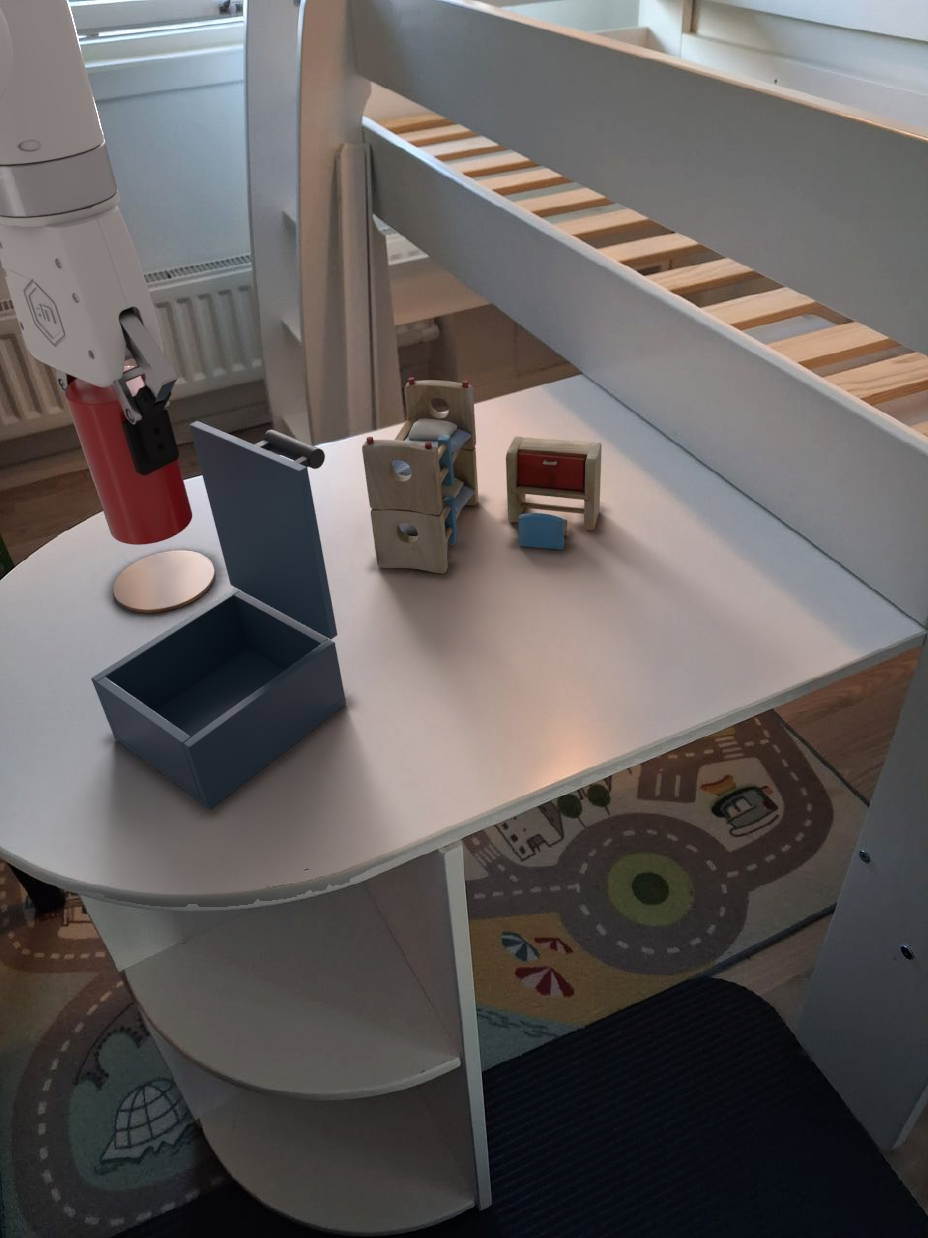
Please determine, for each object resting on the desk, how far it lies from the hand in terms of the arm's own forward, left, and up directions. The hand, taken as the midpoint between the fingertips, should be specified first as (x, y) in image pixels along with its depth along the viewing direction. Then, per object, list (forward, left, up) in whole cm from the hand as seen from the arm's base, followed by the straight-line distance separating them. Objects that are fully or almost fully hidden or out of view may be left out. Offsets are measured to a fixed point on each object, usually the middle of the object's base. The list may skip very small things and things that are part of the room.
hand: (129, 450), depth 70 cm
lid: (+8, -1, -9) cm, 12 cm away
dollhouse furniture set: (+33, +8, -25) cm, 42 cm away
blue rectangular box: (+1, -3, -24) cm, 25 cm away
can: (0, 0, -6) cm, 6 cm away
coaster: (+2, +20, -24) cm, 31 cm away
